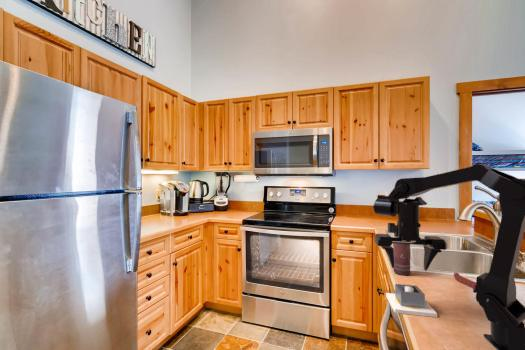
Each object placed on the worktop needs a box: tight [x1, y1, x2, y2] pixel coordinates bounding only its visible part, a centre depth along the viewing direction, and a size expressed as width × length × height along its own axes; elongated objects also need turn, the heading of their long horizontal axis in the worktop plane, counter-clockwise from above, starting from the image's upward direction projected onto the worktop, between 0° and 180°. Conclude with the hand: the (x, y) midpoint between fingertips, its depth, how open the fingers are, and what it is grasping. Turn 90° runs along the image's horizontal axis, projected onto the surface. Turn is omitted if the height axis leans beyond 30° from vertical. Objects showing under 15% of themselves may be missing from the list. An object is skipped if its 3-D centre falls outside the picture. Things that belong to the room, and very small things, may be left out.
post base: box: [385, 286, 438, 318], centre depth 79 cm, size 11×11×6 cm
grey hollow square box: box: [394, 283, 426, 308], centre depth 79 cm, size 6×6×4 cm
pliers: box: [453, 272, 476, 291], centre depth 91 cm, size 12×20×3 cm, turn 158°
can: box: [392, 240, 411, 277], centre depth 106 cm, size 6×6×14 cm
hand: (408, 268), depth 79 cm, fingers open, 9 cm apart
